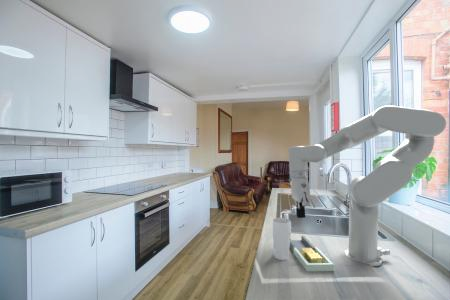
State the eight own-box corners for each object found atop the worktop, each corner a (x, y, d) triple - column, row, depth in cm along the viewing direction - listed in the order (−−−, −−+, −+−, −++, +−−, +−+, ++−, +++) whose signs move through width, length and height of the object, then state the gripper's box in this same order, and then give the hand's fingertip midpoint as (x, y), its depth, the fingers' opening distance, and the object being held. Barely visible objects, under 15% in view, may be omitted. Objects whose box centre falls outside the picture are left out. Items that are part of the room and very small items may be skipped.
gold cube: (310, 258, 87) (311, 247, 87) (315, 263, 83) (315, 252, 83) (300, 258, 87) (300, 247, 87) (304, 263, 83) (304, 252, 83)
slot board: (304, 242, 102) (304, 235, 101) (315, 255, 90) (315, 247, 89) (285, 243, 101) (285, 235, 101) (294, 256, 89) (294, 248, 89)
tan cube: (317, 263, 83) (317, 252, 83) (322, 269, 79) (322, 258, 79) (306, 263, 83) (306, 252, 83) (310, 269, 79) (310, 258, 79)
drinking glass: (291, 264, 82) (291, 224, 82) (272, 262, 84) (272, 222, 84) (289, 256, 89) (290, 218, 89) (272, 254, 90) (272, 217, 90)
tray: (316, 255, 90) (317, 247, 89) (334, 274, 77) (334, 264, 77) (293, 256, 89) (293, 247, 89) (306, 274, 76) (306, 264, 76)
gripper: (315, 175, 90) (317, 222, 90) (300, 172, 105) (302, 212, 105) (296, 176, 90) (298, 223, 90) (284, 173, 105) (286, 213, 105)
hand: (300, 217), depth 97 cm, fingers closed
